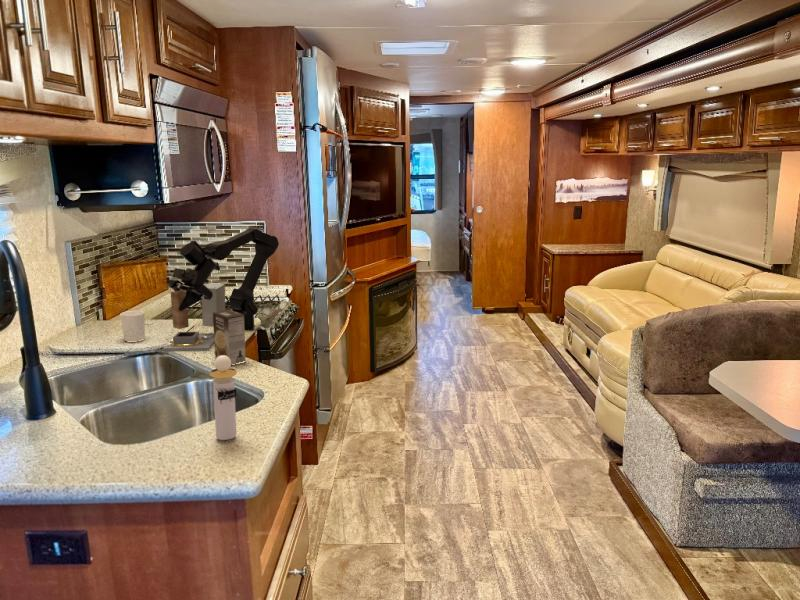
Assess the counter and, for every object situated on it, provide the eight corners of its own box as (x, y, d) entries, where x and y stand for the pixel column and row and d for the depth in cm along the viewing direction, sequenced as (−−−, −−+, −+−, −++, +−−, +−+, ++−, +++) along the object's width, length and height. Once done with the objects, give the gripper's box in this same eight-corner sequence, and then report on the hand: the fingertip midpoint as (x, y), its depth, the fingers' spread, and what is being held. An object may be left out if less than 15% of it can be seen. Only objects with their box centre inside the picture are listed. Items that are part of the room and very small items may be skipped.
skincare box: (211, 320, 241) (209, 282, 237) (227, 321, 240) (226, 283, 236) (201, 325, 233) (199, 286, 229) (218, 326, 232) (216, 287, 228)
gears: (217, 334, 217) (217, 326, 217) (208, 347, 202) (208, 338, 201) (177, 334, 216) (177, 326, 215) (165, 348, 200) (165, 339, 199)
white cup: (150, 337, 215) (148, 311, 213) (139, 343, 208) (137, 316, 205) (130, 336, 216) (127, 310, 214) (117, 342, 208) (115, 315, 206)
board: (218, 336, 219) (218, 333, 219) (208, 350, 201) (208, 347, 201) (176, 336, 217) (176, 333, 217) (162, 351, 200) (162, 348, 199)
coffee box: (213, 360, 191) (211, 312, 188) (231, 356, 196) (229, 309, 192) (229, 367, 185) (227, 317, 182) (246, 362, 190) (245, 314, 186)
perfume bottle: (209, 436, 137) (205, 354, 133) (233, 430, 140) (230, 350, 136) (218, 446, 132) (214, 361, 128) (243, 439, 136) (239, 356, 132)
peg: (182, 325, 207) (179, 290, 205) (188, 326, 205) (186, 291, 203) (173, 327, 205) (170, 292, 202) (179, 329, 203) (177, 293, 200)
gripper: (169, 256, 208) (143, 292, 202) (203, 261, 198) (177, 299, 191) (190, 275, 216) (165, 310, 210) (223, 281, 206) (199, 318, 199)
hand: (176, 309), depth 202 cm, fingers closed on peg, 4 cm apart
